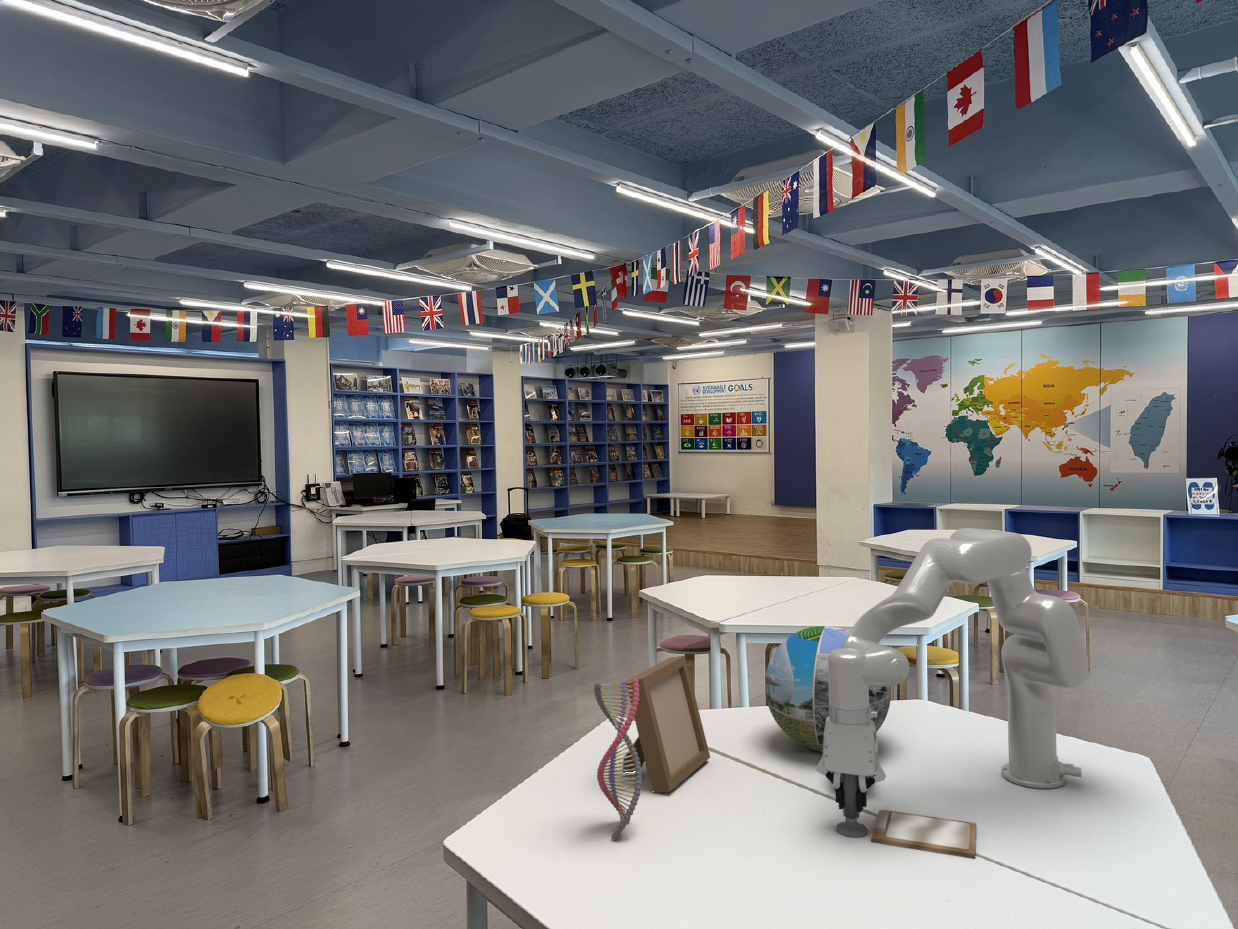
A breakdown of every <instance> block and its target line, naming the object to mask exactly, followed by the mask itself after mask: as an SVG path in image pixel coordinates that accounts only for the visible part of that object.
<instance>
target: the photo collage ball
mask: <svg viewBox="0 0 1238 929" xmlns="http://www.w3.org/2000/svg"><path fill="white" fill-rule="evenodd" d="M850 631H851V630H847V629H844V628H841V627H837V626H831V625H817V626H811V627H807V628H804V629H801V630H798V631H796V632H795V633H793V634H791V635H790V636H788V637H787V638H786V639H785V640H783V642H782V643H780V645H779V646H778V647H777V648H776V649H775V651H774V653H773V654H772V656H771V658H770V660H769V662H768V665H767V668H766V672H765V677H764V693H765V699H766V702H767V705H768V709H769V712H770V713H771V716H772V717H773V719H774V721H775V722H776V724H777V725H778V727H779V728H780V729H781V730H782V731H783V732H784V734H785V735H787V736H788V737H789V739H791V740H793V741H794V742H796V743H797V744H799V745H801V746H803V747H805V748H807V749H810V750H812V751H817V752H820V753H823V739H824V729H825V723H826V718H827V717H828V716H829V684H828V656H829V654H830V652H831V651H833V650H835V649H840V648H842V646H843V644H844V642H845V640H846V638H847V636H848V634H849V633H850ZM891 687H892V686H889V687H880V686H872V687H869V705H870V708H871V710H874V711H877V718H871V719H869V720H872V721H873V722H874V725H875V730H876V733H877V732H878V731H879V730H880V729H881V727H882V726H883V724H884V723H885V721H886V718H887V715H888V713H889V709H890V706H891V705H890V704H891V699H892V688H891Z"/></svg>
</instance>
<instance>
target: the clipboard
mask: <svg viewBox="0 0 1238 929" xmlns="http://www.w3.org/2000/svg"><path fill="white" fill-rule="evenodd" d="M875 817H876V818H875V821H874V824H873V830H872V833H871V836H870V842H871V843H877V844H881V845H882V844H883V845H888V846H896V847H900V848H901V847H902V848H907V849H914V850H920V851H927V852H932V853H940V854H945V855H951V856H957V857H964V858H969V859H976V847H977V846H976V843H977V842H976V841H977V823H976V822H971V821H970V822H969V821H961V820H957V819H950V818H949V819H948V818H944V817H943V818H942V817H937V816H936V817H935V816H929V815H922V814H915V813H909V812H903V811H902V812H901V811H894V810H888V809H881V808H879V809H878V811H877V815H876V816H875Z"/></svg>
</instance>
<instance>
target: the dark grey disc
mask: <svg viewBox="0 0 1238 929" xmlns="http://www.w3.org/2000/svg"><path fill="white" fill-rule="evenodd" d="M835 830H836V832H837V833H838V834H840V835H842V836H844V837H848V838H857V839H858V838H862V837H863V838H864V837H865V836H867V835H868V834H869V828H868V827H867V826H866V825H865V824H863V823H862V822H858V821H857V823H856V824H849V823H847V822H846V820H845V821H841V822H839V823H837V824H836V825H835Z"/></svg>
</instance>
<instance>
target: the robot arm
mask: <svg viewBox="0 0 1238 929" xmlns="http://www.w3.org/2000/svg"><path fill="white" fill-rule="evenodd" d="M1031 559H1032V546H1031V543H1030V542H1029V540H1027V539H1026V537H1025V536H1024V535H1022V534H1019V533H1017V532H1011V531H1004V530H1003V531H1002V530H993V529H985V528H976V527H975V528H974V527H973V528H972V527H961V528H959V529H957V530H955V531H953V533H952V534H951V535H950V537H949V538H945V537H942V538H941V537H936V538H931V539H929V540H928V541H926V542H925V543H924V544H923V546H922V547H921V548H920V550H919V552H917V554H916V556H915V558H914V560H913V562H912V563H911V565H910V566H909V568H908V570H907V572H906V573H905V575H904V576H903V578H902V580H901V581H900V583H899V585H898V586H897V587H896V589H895V591H894V592H893V593H892V594H891V595H889V596H888V597H886V598H885V599H883V600H880V602H878V603H877V604H876V605H873V607H871V608H870V609H868V610H867V611H865V612H864V613H863V614H862V615H861V616H860V617H859V618H858V619H857V621H856V622H855V624H854V625H853V626H852V628H851V630H849V631H850V633H849V634H848V636H847V638H846V640H845V642H844V644H843V646H842V648H840V649H835V650H833V651H831V652H830V654H829V656H828V684H829V716H828V717H827V718H826V723H825V729H824V739H823V752H822V756H821V759H820V760H819V762H818V763H817V766H816V767H815V770H816V771H817V772H818V773H819V774H821V775H822V776H824V777H826V779H827V780H828V781H829V782H830V783H831V784H832V785H833V788H834V789H835V790H834V792H835V803H836V804H838V810H843V782H842V774H850V775H857V776H858V777H859V785H860V786H859V790H858V792H857V802H858V811H859V814H860V813H863V809H864V808H867V804H868V798H867V797H868V796H867V790H868V789H870V788H871V787H872V786H874V785H875V784H877V783H880V782H883V781H885V780H886V777H887V775H886V772H885V770H884V769H883V767H882V765H881V763H880V762H879V747H878V738H877V732H876V730H875V725H874V722H873V721H872V720H869V719H871V718H877V711H874V710H871V708H870V705H869V687H872V686H880V687H889V686H890V687H894V686H897V685H900V684H901V683H903V682H904V681H905V680H906V679H907V677H908V675H909V673H910V662H909V660H908V658H907V656H906V655H905V654H904V652H902V651H900V650H899V649H897V648H894V647H891V646H887V645H884V644H880V642H881V641H882V640H883V638H885V636H887V635H888V634H889V633H891V632H893V631H895V630H896V629H899V628H902V627H904V626H908V625H912V624H916V623H919V622H923V621H926V620H928V619H931V618H932V617H933V616H934V615H935V613H936V612H937V610H938V608H939V607H940V605H941V602H942V601H943V599H944V598H945V597H946V594H947V592H948V591H949V589H950V588H951V586H952V583H955V582H956V583H961V584H967V585H968V584H969V585H979V584H985V583H986V585H987V587H988V590H989V593H990V596H991V600H992V605H993V607H994V611H995V614H996V617H997V620H998V623H999V625H1000V626H1001V627H1002V629H1003V630H1005V631H1006V632H1008V633H1011V634H1013V635H1010V636H1009V637H1007V638H1006V639H1005V640H1004V642H1003V644H1002V647H1001V651H1000V655H1001V662H1002V667H1003V671H1004V675H1005V682H1006V694H1007V698H1006V699H1007V738H1008V740H1007V741H1008V742H1007V744H1008V745H1007V746H1008V763H1006V764H1004V765H1002V767H1001V769H1000V771H1001V775H1002V777H1004V779H1006V780H1007V781H1009V782H1011V783H1013V784H1016V785H1019V786H1023V787H1028V788H1033V789H1034V788H1035V789H1055V788H1059V787H1061V786H1063V785H1064V784H1065V782H1066V776H1071V777H1076V778H1077V777H1078V778H1081V777H1082V769H1081V767H1076V766H1074V765H1075V764H1073V763H1062V761H1059V757H1058V755H1057V750H1058V748H1057V715H1056V713H1057V712H1056V711H1057V704H1056V702H1057V701H1056V697H1055V694H1054V690H1053V688H1052V687H1051V686H1054V687H1058V688H1062V689H1076V688H1078V687H1081V686H1082V685H1083V684H1084V683H1085V682H1086V679H1087V677H1088V673H1089V660H1088V659H1089V658H1088V655H1087V650H1086V647H1085V643H1084V640H1083V635H1082V632H1081V628H1080V625H1079V621H1078V617H1077V614H1076V613H1075V611H1074V609H1073V608H1072V606H1071V605H1070V604H1069V603H1068V602H1067V601H1066V600H1065V599H1063V598H1061V597H1058V596H1054V595H1049V594H1044V593H1039V592H1037V591H1036V590H1035V588H1034V587H1033V584H1032V581H1031V578H1030V574H1029V572H1028V569H1027V567H1028V566H1029V564H1030V562H1031Z"/></svg>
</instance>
